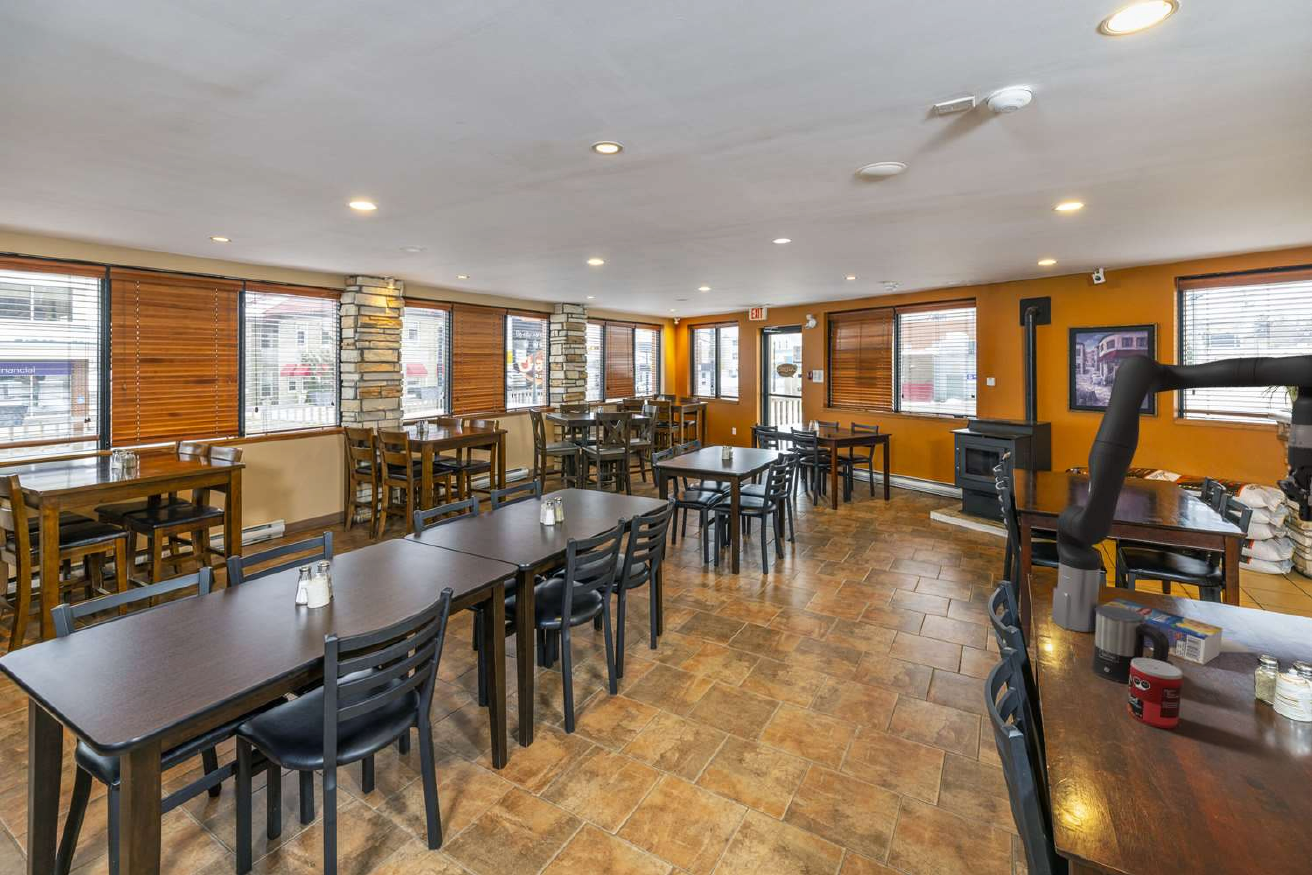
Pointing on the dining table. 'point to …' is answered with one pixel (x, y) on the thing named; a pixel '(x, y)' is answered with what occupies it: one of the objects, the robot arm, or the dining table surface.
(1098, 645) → the milk frother
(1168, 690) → the canned food
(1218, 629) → the beverage box
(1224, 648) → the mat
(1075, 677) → the dining table surface
